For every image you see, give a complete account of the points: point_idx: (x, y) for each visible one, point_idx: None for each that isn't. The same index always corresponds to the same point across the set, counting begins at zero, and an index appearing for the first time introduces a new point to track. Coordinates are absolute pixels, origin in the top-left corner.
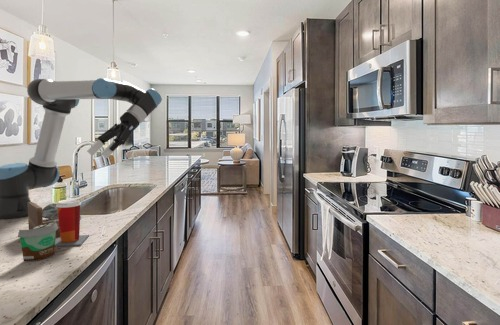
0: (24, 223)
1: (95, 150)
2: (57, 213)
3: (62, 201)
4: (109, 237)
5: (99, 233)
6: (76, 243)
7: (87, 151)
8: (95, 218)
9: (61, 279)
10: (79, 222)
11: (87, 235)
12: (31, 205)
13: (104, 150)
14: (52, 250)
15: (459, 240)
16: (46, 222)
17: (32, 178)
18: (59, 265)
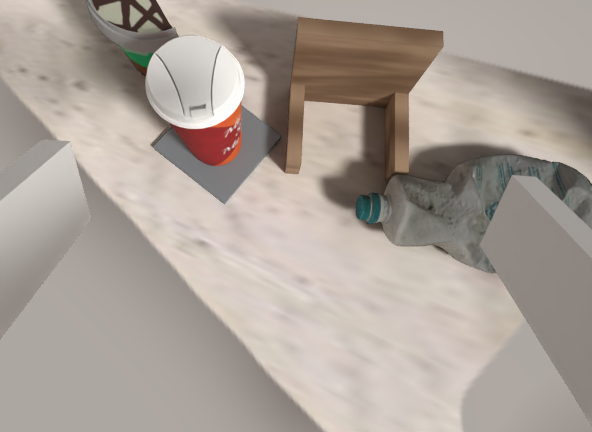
0: (532, 124)
1: (522, 278)
2: (464, 181)
3: (209, 55)
4: (161, 246)
5: (231, 243)
6: (169, 141)
7: (524, 180)
8: (438, 324)
9: None
10: (186, 143)
11: (221, 197)
12: (379, 26)
13: (10, 166)
14: (132, 62)
15: None
16: (394, 127)
17: None
18: (51, 55)
